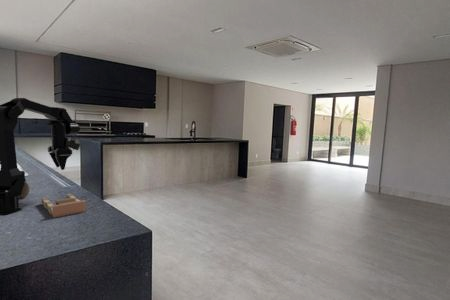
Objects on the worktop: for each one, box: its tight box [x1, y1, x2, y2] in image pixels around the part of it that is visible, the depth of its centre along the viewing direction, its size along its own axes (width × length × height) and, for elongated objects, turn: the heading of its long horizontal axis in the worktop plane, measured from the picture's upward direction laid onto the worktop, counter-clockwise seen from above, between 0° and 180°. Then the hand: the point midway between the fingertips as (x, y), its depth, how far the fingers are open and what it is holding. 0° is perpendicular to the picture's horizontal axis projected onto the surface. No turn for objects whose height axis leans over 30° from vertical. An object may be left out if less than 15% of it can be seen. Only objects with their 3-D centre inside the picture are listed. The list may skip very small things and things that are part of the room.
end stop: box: [52, 199, 87, 218], centre depth 103 cm, size 2×11×4 cm, turn 133°
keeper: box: [55, 198, 77, 205], centre depth 107 cm, size 8×6×4 cm
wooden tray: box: [41, 193, 81, 217], centre depth 111 cm, size 20×11×2 cm, turn 43°
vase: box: [17, 181, 30, 200], centre depth 123 cm, size 7×7×9 cm
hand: (60, 168), depth 128 cm, fingers open, 9 cm apart
